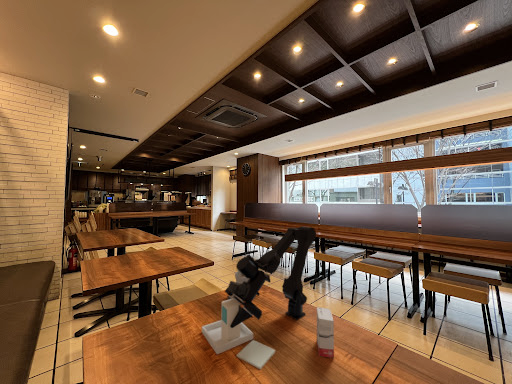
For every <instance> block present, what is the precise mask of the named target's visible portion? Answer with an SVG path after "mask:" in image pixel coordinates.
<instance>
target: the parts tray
mask: <svg viewBox="0 0 512 384" xmlns="http://www.w3.org/2000/svg"><path fill="white" fill-rule="evenodd" d="M201 333H202V335H203V336H204V338H205V339H206V341H207V342H208V344H209V345H210V346H211V348H212V349H213V351H214V353H216V355H219V354H221V353H224V352H226V351H228V350H231V349H233V348H235V347H238V346H240V345H242V344H244V343H246V342H251V341H252V340H254V333H253V331H251V329H250V328H248V327H247V325H245V323H244V322H241V323H240V337H239V338H237V339H234V340H232V341H230V342H227V343H225V342H224V341H223V340H222V339H221V319H220V320H217V321H215V322H211V323H209V324H205V325H202V326H201Z"/></svg>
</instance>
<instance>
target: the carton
mask: <svg viewBox="0 0 512 384" xmlns="http://www.w3.org/2000/svg"><path fill="white" fill-rule="evenodd" d="M239 305H240V306H241V305H242V304H241V303H240V302H238V301H237V300H236V299H234V298H232V299H229V300H228V299H226V300H223V301H221V319H220V320H221V339H222V340H223V341H224V342H225V343H227V342H230V341H232V340H234V339H237V338H239V337H240V324H238V325H237V326H235V327H234V328H231V327H230V325H231V323H232V321H233V320H234V318H235V316H236V315H237V313H238V311H239ZM241 307H242V306H241Z"/></svg>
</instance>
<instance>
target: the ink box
mask: <svg viewBox="0 0 512 384" xmlns="http://www.w3.org/2000/svg"><path fill="white" fill-rule="evenodd" d="M334 324H335V322H334V318H333V314H332V311H331V308H326V307H325V308H324V307H316V344H317V351H318V356H319V357H323V358H331V359H334V358H335V341H334V339H335V337H334V336H335V335H334V334H335V333H334V332H335V330H334V326H335V325H334Z"/></svg>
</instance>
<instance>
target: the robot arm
mask: <svg viewBox="0 0 512 384" xmlns="http://www.w3.org/2000/svg"><path fill="white" fill-rule="evenodd" d="M316 236H317V232H316V229H315V228H314V227H312V226H304V225H302V226H300V227H288V228H287V230H286V232H285V233H284V234H283V236H282V237H281V238H280V239H279V240H278V241H277V243H276V244H275V245H274V246H273V248H272V249H270V250H269V251H267V252H265V253H263V254H262V255H261V256H260V257H259V258H258V259H255V258H254V257H252V256H251V255H249V254H246V256H244V257H242V258H241V259H239V260H238V262H237V263H236V265H235V266H236V270H237V269H238V270H239V271H240V272H241V273H242V274H243V275H244V276H245V277H246V278H249V279H248V281H247V282H245V281H244V282H243V283H242V284H241V283H240V284H239V283H237V282H236V281H233V280H230V281H229V284H228V286H227V288H226V289H225V290H224V293H226V297H227V300H229V299H232V298H234V299H236V300H237V301H238V302H239V303H240V304H241V305H242V306H240V305H239V311H238V313H237V315H236V316H235V318H234V320H233V321H232V323H231V325H230V327H231V328H234V327H235V326H237V325H238V324H240V323H241V322H242V323H244V322H245V321H247V320H248V319H253V318H256V319H257V320H260V319H261V317H262V316H263V311H262V310H261V309H260V308H259V307H258V306H257V305H256V304H255V303H253V302H254V299H255V297H256V296H257V297H258V296H260V292H259V291H260V290H261V289H262V288H263V286H264V284H265V283H266V282H267V283H269V284H270V283H271V275H270V274H274V273H275V272H277V270H278V268H279V267H280V264H281V259H282V257H283V256H284V255H285V253H286V252H287V251H288V249H289V248H290V246H291V245H292V244H293V243H294V242H295V240H296V241H297V245H296V247H297V248H296V251H295V255H294V259H293V263H292V267H291V271H290V274H289V276H288V277H287V278H286V277H284V279H283V284H282V285H281V288H282V289H281V290H282V293H283V295H284V298H285V299H287V300H288V301H287V303H288V305H287V311H286V312H285V315H287V316H289V317H290V318H293V319H295V320H296V321H297V320H300V319H301V318H302V317H304V316H306V312H304V311H303V309H304V308H303V306H304V305H305V304H306V303H307V302H308V297H307V296H306V295H305V293H304V292H303V289H304V286H303V281H302V279H303V278H302V277H303V273H304V269H305V265H306V262H307V261H306V260H307V256H308V252H309V248H310V246H311V245H312V244H314V241H315V239H316Z"/></svg>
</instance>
